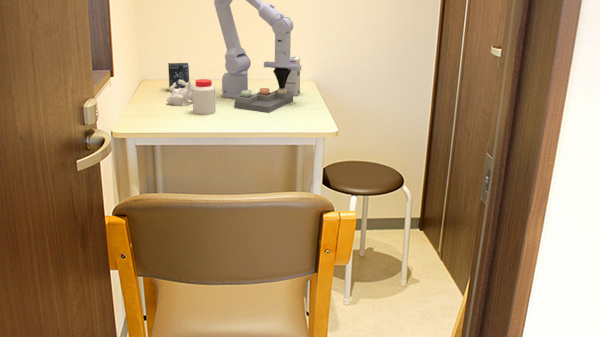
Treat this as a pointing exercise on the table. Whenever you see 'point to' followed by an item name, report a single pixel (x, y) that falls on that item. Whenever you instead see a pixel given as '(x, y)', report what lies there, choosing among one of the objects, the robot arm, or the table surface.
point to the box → (178, 74)
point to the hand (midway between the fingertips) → (282, 88)
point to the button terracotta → (264, 91)
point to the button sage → (246, 93)
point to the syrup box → (293, 78)
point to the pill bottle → (204, 97)
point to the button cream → (281, 90)
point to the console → (264, 101)
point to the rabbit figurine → (181, 94)
